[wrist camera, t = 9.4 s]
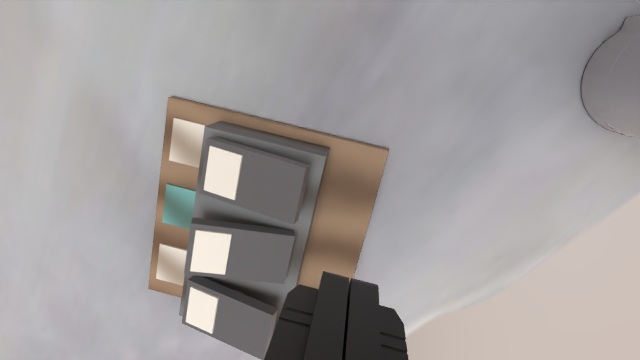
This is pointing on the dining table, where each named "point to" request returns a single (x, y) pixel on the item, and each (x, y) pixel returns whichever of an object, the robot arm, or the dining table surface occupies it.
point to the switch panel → (332, 205)
